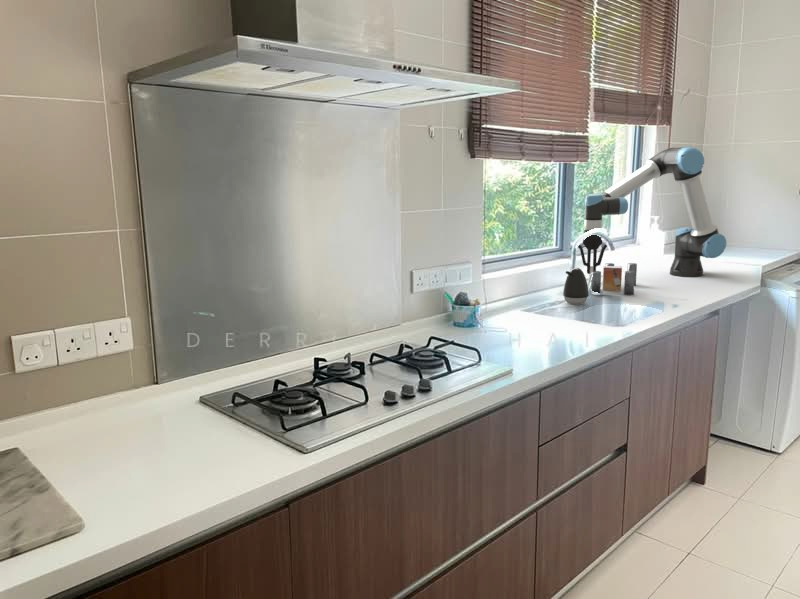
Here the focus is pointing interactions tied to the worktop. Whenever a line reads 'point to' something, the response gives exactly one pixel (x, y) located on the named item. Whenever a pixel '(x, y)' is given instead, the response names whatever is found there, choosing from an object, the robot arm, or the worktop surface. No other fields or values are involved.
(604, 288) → the small box
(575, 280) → the pump dispenser
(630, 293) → the spacer field
